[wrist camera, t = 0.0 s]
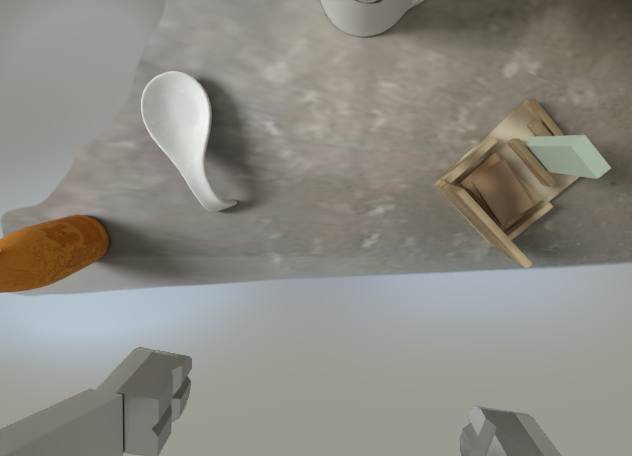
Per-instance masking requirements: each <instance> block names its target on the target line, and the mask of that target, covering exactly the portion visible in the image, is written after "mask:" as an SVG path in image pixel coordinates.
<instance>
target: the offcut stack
mask: <svg viewBox="0 0 632 456" xmlns="http://www.w3.org/2000/svg"><path fill="white" fill-rule="evenodd" d="M458 183H459V184H460V185H461V186H462V187H463V188H464V189H465V191H466V192H467V193H468V194H469V195H470V196H471V197H472V198H473V199H474V200H475V201H476V203H477V204H478V205H479V206H480V207H481V208H482V209H483V210H484V211H485V212H486V214H487V215H488V216H489V217H490V218H491V219H492V220H493V221H494V222H495V223H496V225H497V226H499V227H501V228H502V227H503V226H505V225H506V224H507V225H509V226H510V225H511V224H512V223H513V222H515V221H516V220H517V219H518V218H519V217H520V216H521V215H522V214H523V213H524V212H525V211H526V210H528V209H529V208H531V207H532V206H534V205H533V204H534V203H535V202H536V201H537V200H538V199H539V198H540V197H539V196H538V195H537V194H536V193H535V192H534V191H533V190H532V189H531V188H530V187H529V186H528V185H527V184H526V183H525V182H524V181H522V180H521V179H520V178H519V177H518V176H517V175H516V174H515V173H514V172H513V171H512V170H511V169H510V167H509V166H508V164H507V163H506V161H505V160H501V159H500V158H499V156H498V155H497V154H496V153H491V154H490V155H489V156H488V157H486V158H485V159H484V160H483V161H482V162H481V163H480V164H479V165H477V166H476V167H475V168H474V169H473V170H472V171H471V172H470V173H468V174H467V175H466V176H465V177H464V178H463V179H462V180H461V181H459V182H458Z"/></svg>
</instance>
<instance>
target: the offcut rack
mask: <svg viewBox="0 0 632 456" xmlns="http://www.w3.org/2000/svg"><path fill="white" fill-rule="evenodd" d="M536 136H565V135H564V134H563V133H562V131H561V130H560V129H559V128H558V126H557V125H556V124H555V123H554V122H553V120H552V119H551V118H550V117H549V115H548V114H547V113H546V112H545V110H544V109H543V108H542V107H541V105H540V104H539V103H538V102H537V100H536V99H530V100H525V101H524V102H523V103H522V104H521V105H520V106H519V107H517V108H516V109H515V110H514V111H513V112H512V113H511V114H510V115H509V116H508V117H506V118H505V119H504V120H503V121H502V122H501V123H500V124H499V125H498V126H497V127H495V128H494V129H493V130H492V131H491V132H490V133H489V134H488V135H487V136H486V137H484V138H483V139H482V140H481V141H480V142H479V143H478V144H477V145H476V146H475V147H473V148H472V149H471V150H470V151H469V152H468V153H467V154H466V155H465V156H463V157H462V158H461V159H460V160H459V161H458V162H457V163H456V164H455V165H454V166H452V167H451V168H450V169H449V170H448V171H447V172H446V173H445V174H444V175H443V176H441V177H440V178H439V179H438V180H437V181H436V182H435V183H434V185H435V186H436V187H437V188H438V189H439V190H440V191H441V192H442V194H443V195H444V196H445V197H446V198H447V199H448V200H449V201H450V202H451V203H452V204H453V205H454V206H455V208H456V209H457V210H458V211H459V212H460V213H461V214H462V215H463V216H464V217H465V218H466V219H467V220H468V221H469V223H470V224H471V225H472V226H473V227H474V228H475V229H476V230H477V231H478V232H479V233H480V234H481V235H482V237H483V238H484V239H485V240H486V241H487V242H488V243H489V244H490V245H491V246H493V247H494V248H496V249H497V250H499V251H501V252H502V253H504V254H505V255H507V256H508V257H510V258H511V259H513V260H514V261H516V262H518V263H519V264H521V265H522V266H524V267H525V268H528V267H529V266H531V265H532V263H531V262H530V261H529V260H528V259H527V257H526V256H525V255H524V254H523V253H522V252H521V251H520V250H519V249H518V248H517V247H516V245H515V244H514V243H513V242H512V241H511V240H512V239H514V238H515V237H516V236H517V235H519V234H520V233H521V232H522V231H524V230H525V229H526V228H527V227H529V226H530V225H531V224H532V223H534V222H535V221H536V220H538V219H539V218H540V217H541V216H543V215H544V214H545V213H546V212H548V211H549V210H550V209H551V208H553V205H552V204H551V203H550V202H549V201H550V200H552V199H553V198H554V197H555V196H557V195H558V194H559V193H560V192H562V191H563V190H564V189H565V188H566V187H568V186H569V185H570V184H571V183H573V182H574V181H575V180H576V179H578V178H579V177H580V176H573V175H566V174H559V173H551V172H547V171H546V170H545V169H544V168H543V166H542V165H541V164H540V163H539V162H538V160H537V159H536V158H535V157H534V156H533V154H532V153H531V152H530V151H529V150H528V149H527V147H526V146H525V145H524V143H525V142H526V141H527V140H528V139H530V138H531V137H536ZM491 153H496V154H497V155H498V156H499V158H500V159H501V160H505V161H506V163H507V164H508V166H509V167H510V169H511V170H512V171H513V172H514V173H515V174H516V175H517V176H518V177H519V178H520V179H521V180H522V181H524V182H525V183H526V184H527V185H528V186H529V187H530V188H531V189H532V190H533V191H534V192H535V193H536V194H537V195H538V196H539V197H540V198H539V199H538V200H537V201H536V202H535V203H534V204H533V205H534V206H532V207H531V208H529V209H528V210H526V211H525V212H524V213H523V214H522V215H521V216H520V217H519V218H518V219H517V220H516V221H515V222H513V223H512V224H511V225H510V226H509V225H507V224H506V225H505V226H503V227H502V228H501V227H499V226H497V225H496V223H495V222H494V221H493V220H492V219H491V218H490V217H489V216H488V215H487V214H486V212H485V211H484V210H483V209H482V208H481V207H480V206H479V205H478V204H477V203H476V201H475V200H474V199H473V198H472V197H471V196H470V195H469V194H468V193H467V192H466V191H465V189H464V188H463V187H462V186H461V185H460V184H459V183H458V182H459V181H461V180H462V179H463V178H464V177H465V176H466V175H467V174H468V173H470V172H471V171H472V170H473V169H474V168H475V167H476V166H477V165H479V164H480V163H481V162H482V161H483V160H484V159H485V158H486V157H488V156H489V155H490V154H491Z"/></svg>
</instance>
